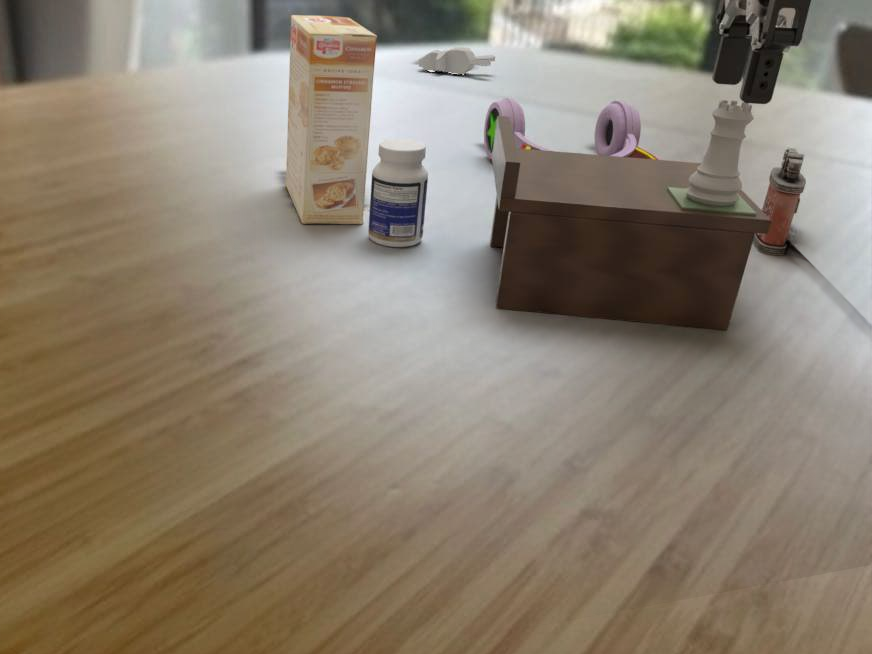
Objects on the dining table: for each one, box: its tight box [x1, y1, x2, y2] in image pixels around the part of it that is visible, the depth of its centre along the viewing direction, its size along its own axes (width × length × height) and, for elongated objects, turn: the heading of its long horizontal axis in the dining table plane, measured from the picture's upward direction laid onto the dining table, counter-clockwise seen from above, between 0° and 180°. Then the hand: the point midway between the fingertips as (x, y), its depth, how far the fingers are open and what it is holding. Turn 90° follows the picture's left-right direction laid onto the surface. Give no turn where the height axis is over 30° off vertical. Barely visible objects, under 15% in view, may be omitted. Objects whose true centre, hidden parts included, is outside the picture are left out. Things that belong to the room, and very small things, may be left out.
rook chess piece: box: [685, 99, 755, 206], centre depth 75 cm, size 4×4×8 cm
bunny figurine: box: [418, 46, 496, 75], centre depth 187 cm, size 10×5×15 cm
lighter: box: [752, 147, 807, 256], centre depth 98 cm, size 8×3×10 cm, turn 161°
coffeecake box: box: [285, 14, 378, 225], centre depth 100 cm, size 15×7×20 cm, turn 9°
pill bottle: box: [367, 138, 429, 248], centre depth 93 cm, size 6×6×10 cm
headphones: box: [483, 97, 659, 160], centre depth 120 cm, size 20×10×20 cm
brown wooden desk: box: [489, 116, 772, 331], centre depth 84 cm, size 22×18×13 cm
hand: (738, 92), depth 73 cm, fingers open, 8 cm apart
